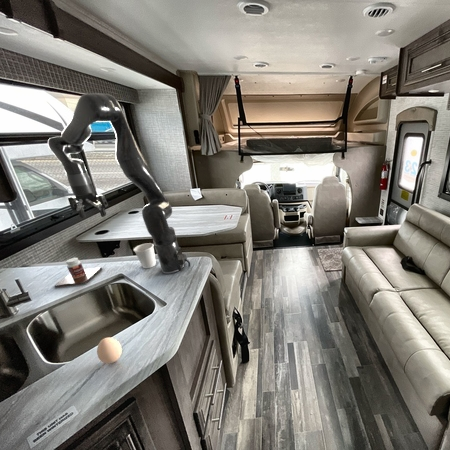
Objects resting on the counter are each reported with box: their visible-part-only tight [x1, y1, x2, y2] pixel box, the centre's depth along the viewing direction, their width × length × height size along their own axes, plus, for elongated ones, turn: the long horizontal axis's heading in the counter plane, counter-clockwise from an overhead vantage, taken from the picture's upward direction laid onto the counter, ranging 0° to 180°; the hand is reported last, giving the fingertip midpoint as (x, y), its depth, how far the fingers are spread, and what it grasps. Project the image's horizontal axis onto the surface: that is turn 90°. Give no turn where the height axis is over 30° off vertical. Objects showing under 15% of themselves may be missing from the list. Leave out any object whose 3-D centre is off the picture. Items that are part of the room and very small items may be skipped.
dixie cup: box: [133, 242, 157, 269], centre depth 117 cm, size 8×8×10 cm
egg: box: [96, 337, 123, 364], centre depth 68 cm, size 5×5×8 cm
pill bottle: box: [65, 257, 85, 278], centre depth 108 cm, size 5×5×8 cm
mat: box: [53, 267, 103, 288], centre depth 110 cm, size 12×12×1 cm
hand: (94, 217), depth 115 cm, fingers open, 8 cm apart
